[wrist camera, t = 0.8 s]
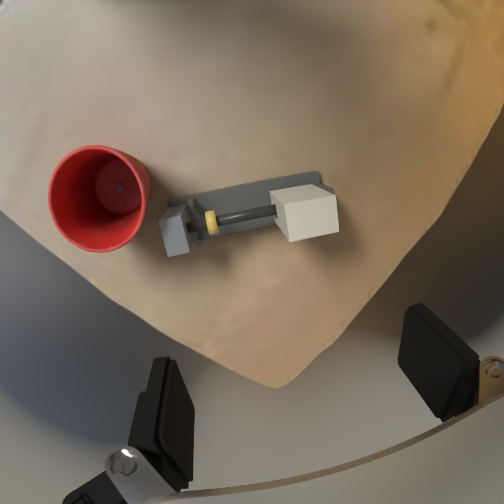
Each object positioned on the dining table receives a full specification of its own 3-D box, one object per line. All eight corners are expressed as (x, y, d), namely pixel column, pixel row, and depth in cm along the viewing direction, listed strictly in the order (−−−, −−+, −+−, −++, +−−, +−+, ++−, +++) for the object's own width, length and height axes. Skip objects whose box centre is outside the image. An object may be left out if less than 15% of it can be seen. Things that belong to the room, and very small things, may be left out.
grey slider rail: (177, 242, 38) (170, 264, 31) (166, 200, 35) (156, 213, 29) (321, 213, 38) (341, 228, 32) (316, 171, 36) (336, 177, 30)
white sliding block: (274, 221, 35) (289, 241, 28) (269, 191, 34) (284, 204, 27) (314, 213, 35) (339, 231, 28) (310, 184, 34) (335, 195, 27)
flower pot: (129, 244, 37) (105, 274, 28) (70, 192, 33) (32, 208, 24) (180, 181, 35) (168, 194, 26) (117, 126, 31) (85, 122, 22)
